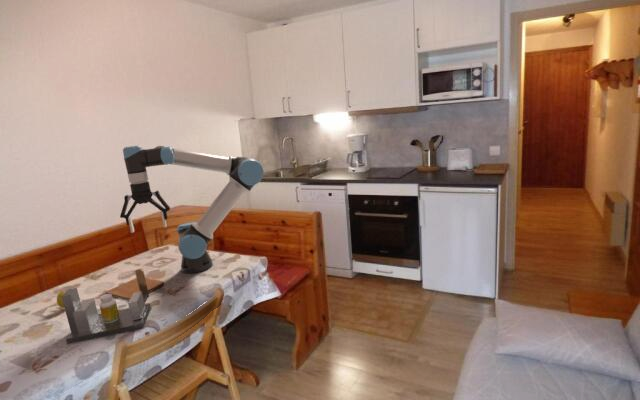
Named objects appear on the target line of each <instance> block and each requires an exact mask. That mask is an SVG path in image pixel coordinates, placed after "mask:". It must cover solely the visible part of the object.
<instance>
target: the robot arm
mask: <svg viewBox="0 0 640 400" xmlns="http://www.w3.org/2000/svg"><path fill="white" fill-rule="evenodd" d="M122 153H123V160H124V165H125V168H126V172H127V178H128V183H130V184H129V188H130V191H131V194H130V195H128V194H125V195H124V196H123V198H124V202H123V206H122V209H121V211H120V212H121V213H120V215H119V216H120V218H121V219H125V222H126V225H127V226H129V229H130V233H131V234H133V233H135V227H134V222H133V218H132V216H131V215H132V212H133V211H134V209H135V208H136V206H137V205H142V204H151V205H152V206H154V207H155V208H157V209H158V210H159V211H161V213H160V214H161V219H162V224H163V228H167V226H168V225H167V220H168V213H167V212H169V211H170V210H171V207H170V205H169V204H168V203H167V202H166V201H165V199H164V198H163V197H162V196H161V194H160V191H159V190H156V191H152V190H151V186H150V182H149V181H148V180H149V175H148V171H147V168H150V167H157V166H163V165H164V166H165V165H166V166H168V165H173V166H181V167H186V168H191V169H198V170H199V169H200V170H205V171H212V172H218V173H225V174H226V175H227V176H229V177H228V178H229V181H228V183H227V184H226V185H225V186H224V187H223V189H222V190H221V192H219V194H218V196H216V197H215V199H214V200H213V202H212V203H211V204H210V206H209V207H208V208H207V209H206V210H205V211H204V213H203V214H202V216H200V218H199V219H198V221H191V222H186V223H182V224H179V225H178V226H177V227H176V228H177V229H176V232H177V235H178V245H177V246H178V250H179V253H180V254H181V255H182V256H181V263H180V270H181V272H182V273H183V274H196V273H200V272H204V271H206V270H208V269H210V268H211V267H213V265H214V264H213V260H212V257H211V256H210V254H209V252H208V251H207V247H208V245H209V244H210V243H211V241H213V238H214V235H213V234H214V232H215V231H216V230H217V228H218V227H219V226H220V225H221V223H222V222H223V221H224V220H225V218H226V217H227V215H228V214H229V213H230V212H231V211H232V209H233V208H234V207H235V205H236V204H237V203H238V201H239V200H240V198H241V197H243V195H244V194H245V193H248V192H251V190H252V189H253V188H254V187H255V186H256V185H258V184H259V183H260V182H261V181H262V180H263V177H264V167H263V165H262V164H261V163H260V161H259V160H257V159H255V158H252V157H249V156H233V155H230V156H228V157H227V156H222V155H220V156H219V155H216V154H215V155H214V154H209V153H208V154H207V153H202V152H197V151H191V150H184V149H178V148H172V147H171V146H164V145H158V146H155V147H154V148H147V149H144V148H143V147H142V145H131V146H125V147H124V148H123V149H122ZM152 197H156V198H157V200H158V201H159V202H160V203H161V204H160V203H158V202H157V201H156V200H155V199H154V198H152ZM131 199H132V200H133V203H132V205H131V206H130V208H129V209H128V211H127V208H128V205H129V202H130V201H131ZM126 212H127V213H126Z"/></svg>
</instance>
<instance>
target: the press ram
mask: <svg viewBox="0 0 640 400" xmlns="http://www.w3.org/2000/svg"><path fill="white" fill-rule="evenodd" d="M134 272H135V276H136V282H137V286H138V291H137V292H133V293H132V295H131V297H130V299H129V300H128V302H127V304H128V308H129V310H130V314H131V318H132V320H137V319H141V317H142V315H143V312H144V310H145V305H146V302H147V300H148V299H149V298H150V294H149V289H148V284H147V280H146V276H145V272H144V269H143V268H138V269H136V270H134Z"/></svg>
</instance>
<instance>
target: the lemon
mask: <svg viewBox="0 0 640 400" xmlns="http://www.w3.org/2000/svg"><path fill="white" fill-rule="evenodd" d="M60 291H61V292H59V293H58V294H57V296H56V304H57V306H59V307H60V308H62V309H65V308H64V304H63V301H62V297H61V296H62V295H63V294H64V293H65V292H66V291H67V290H60Z"/></svg>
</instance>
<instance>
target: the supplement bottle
mask: <svg viewBox="0 0 640 400" xmlns="http://www.w3.org/2000/svg"><path fill="white" fill-rule="evenodd" d="M99 299H100V304H99V309H100V314H101V313H102V317H103V321H104V323H113V322H115V321H117V320H118V319H119V312H118V310H119V308H118V305H117V301H116V299H114V297H113V294H112V293H105V294H103V295H101V296H100V297H99Z"/></svg>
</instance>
